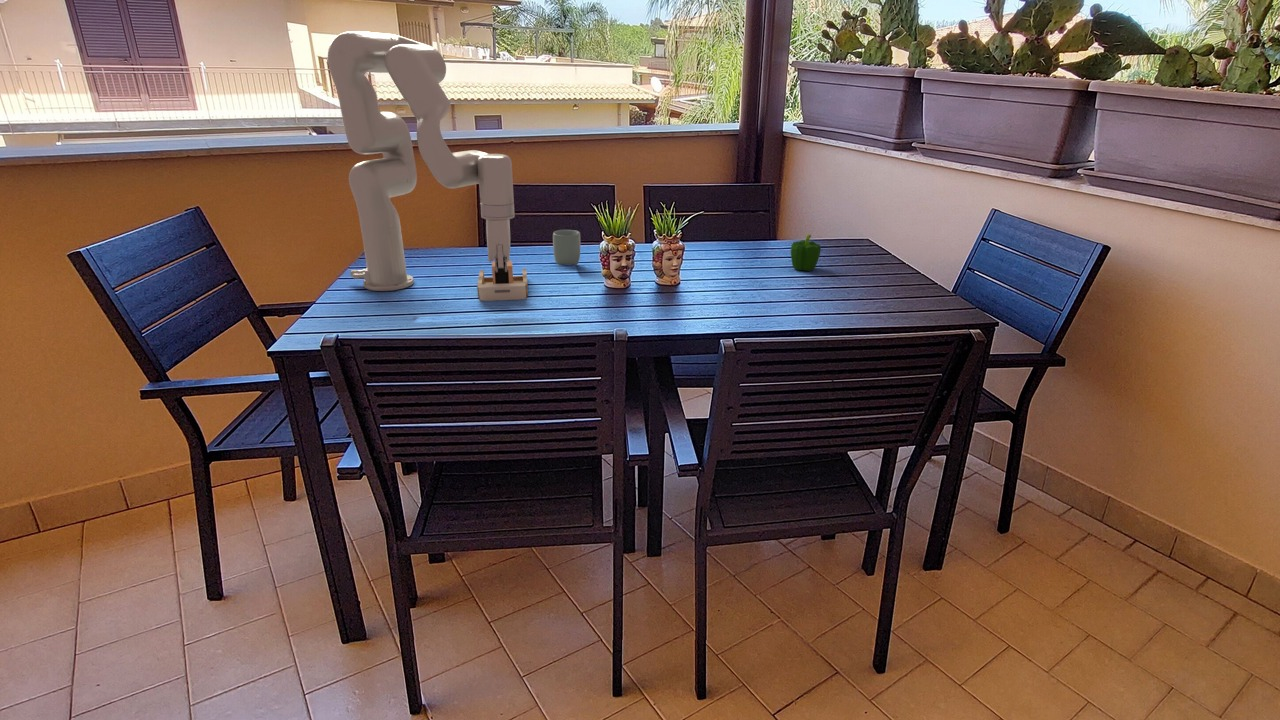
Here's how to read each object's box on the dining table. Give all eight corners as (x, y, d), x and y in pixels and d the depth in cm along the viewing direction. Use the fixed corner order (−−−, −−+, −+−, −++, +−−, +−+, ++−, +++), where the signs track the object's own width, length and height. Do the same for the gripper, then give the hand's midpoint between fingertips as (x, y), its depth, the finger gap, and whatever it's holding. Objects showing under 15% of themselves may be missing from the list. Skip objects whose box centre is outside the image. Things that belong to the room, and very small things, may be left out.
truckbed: (481, 285, 173) (479, 269, 172) (527, 284, 175) (526, 268, 174) (478, 304, 160) (477, 286, 158) (528, 302, 162) (527, 285, 160)
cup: (576, 271, 188) (575, 236, 184) (550, 269, 189) (549, 234, 185) (583, 263, 195) (583, 230, 191) (558, 262, 196) (557, 228, 192)
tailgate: (480, 301, 160) (478, 284, 155) (526, 299, 161) (525, 282, 157) (480, 305, 159) (478, 288, 154) (526, 303, 161) (525, 286, 156)
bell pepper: (806, 274, 188) (811, 240, 184) (783, 268, 194) (787, 235, 190) (823, 269, 193) (828, 236, 189) (800, 263, 199) (804, 231, 195)
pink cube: (493, 289, 166) (491, 266, 164) (494, 283, 170) (492, 261, 168) (513, 288, 167) (512, 266, 164) (513, 283, 171) (512, 260, 169)
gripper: (481, 204, 156) (487, 278, 164) (480, 217, 143) (486, 297, 150) (513, 204, 158) (517, 277, 165) (515, 217, 144) (519, 296, 152)
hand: (502, 286), depth 158 cm, fingers closed
